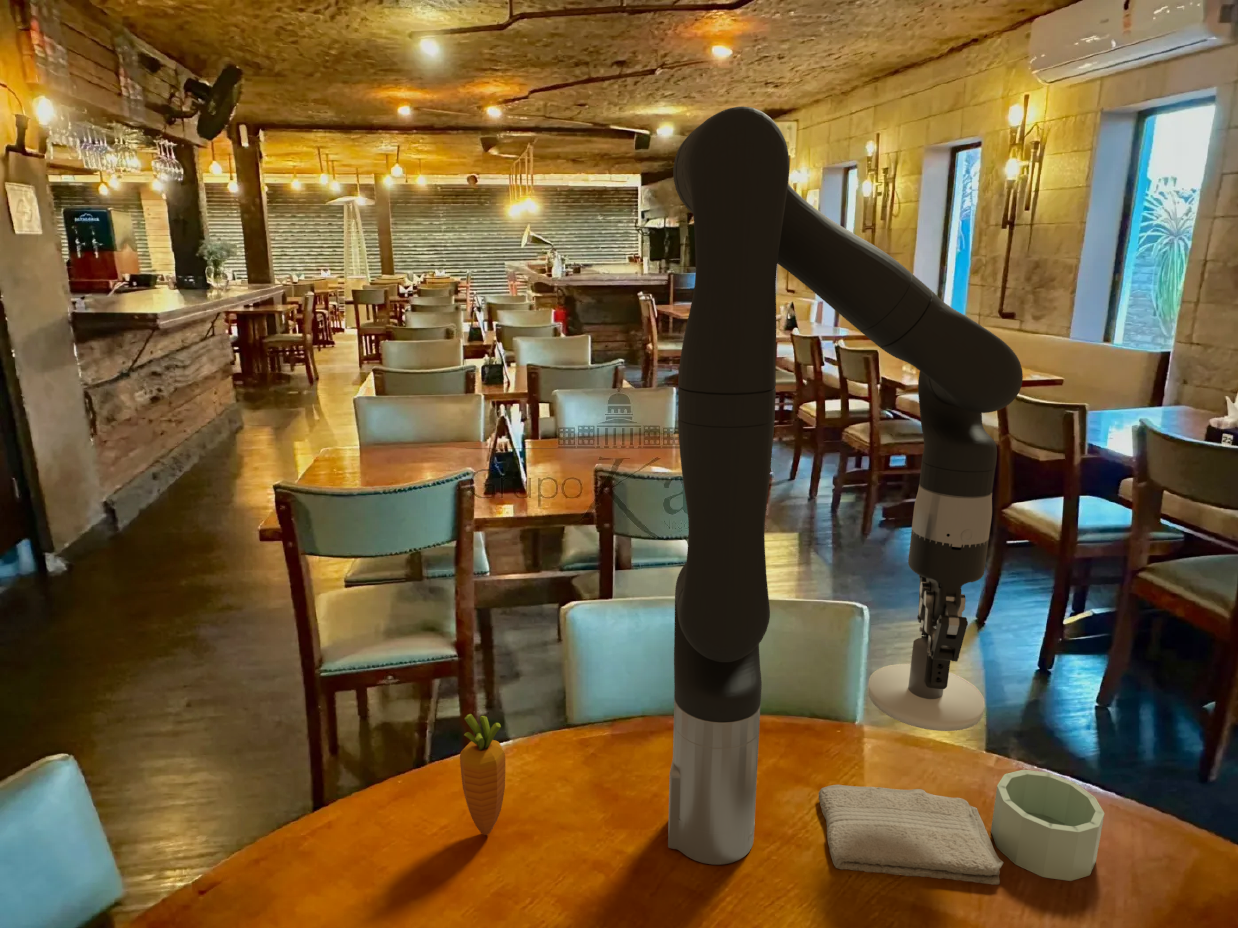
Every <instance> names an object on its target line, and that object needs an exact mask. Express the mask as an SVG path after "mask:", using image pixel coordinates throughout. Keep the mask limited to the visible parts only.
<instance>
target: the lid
mask: <svg viewBox="0 0 1238 928" xmlns="http://www.w3.org/2000/svg"><path fill="white" fill-rule="evenodd" d="M946 647H947V646H946ZM927 648H928V638H921V637H918V638H916V639H914V640H913V644H912V653H911V660H910V663H897V664H896V663H895V664H890V665H885V666H883V667H880V668H878V669H876V670H875V671H873V673H871V675H870V676H869V679H868V686H867V687H868V688H867V694H868V697H869V699H870V701H871V702H872V704H873V706H874V707H876V708H877V709H878V710H879V711H881V712H882V713H883V714H885V715H887V716H888V717H890V718H892V719H893V720H896V721H899V722H900V723H902V724H906V725H908V726H912V727H915V728H918V729H919V728H920V729H923V730H929V731H938V732H957V731H963V730H967V729H969V728H972V727H974V726H977V725H978V723H980V722H981V720H982V719H983V716H984V712H985V698H984V696H983V694H982V693H981V691H980V690H979V688H977V687H976V686H975V685H974V684H973V683H971V682H969V681H968V680H966V679H965V678H963V677H962V676H959V675H958V674H955V673H953V672H950V671H949V676H948V683H947V687H946V688H945V689H935V688H928V687H927V686H926V684H925V672H926V664H927V655H928V653H927Z"/></svg>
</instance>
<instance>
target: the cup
mask: <svg viewBox="0 0 1238 928" xmlns="http://www.w3.org/2000/svg"><path fill="white" fill-rule="evenodd" d="M995 792H996V793H995V797H994V798H995V799H994V800H995V801H994V804H993V807H994V808H993V814H992V819H991V820H992V821H991V826H990V827H991V829H990V833H991V835H992V839H993V841H994V844H995V847H996V848H997V849H998V851H1000V852H1001V853H1002V854H1003V855H1004V856H1006V857H1007V858H1008V859H1009V860H1010V861H1011V862H1012V863H1014V864H1015V865H1016V866H1018V867H1020V868H1022V869H1025V870H1027V871H1028V872H1031V873H1033V874H1035V875H1037V876H1039V877H1042V878H1046V879H1055V880H1061V881H1069V882H1072V881H1075V880H1079V879H1081V878H1085V877H1089V876H1091V873H1092V872H1093V869H1094V867H1095V864H1096V862H1097V857H1098V853H1099V852H1098V851H1099V846H1100V841H1101V835H1102V829H1103V824H1104V818H1105V812H1104V810H1103V808H1102V807H1101V805H1100V804H1099V802H1098V800H1097V798H1096V797H1095V796H1094V795H1092V794H1091V793H1090V792H1089V791H1087V790H1086V789H1084V788H1083V787H1082V786H1080V785H1079V784H1077V783H1076V782H1074V781H1072V780H1069V779H1066V778H1064V777H1061V776H1058V775H1056V774H1053V773H1051V772H1048V771H1037V770H1030V769H1020V770H1016V771H1012V772H1009V773H1008V772H1007V773H1005V774H1003V776H1002V777H1001V779H1000V781H999V782H998V784H997V785H996V791H995Z"/></svg>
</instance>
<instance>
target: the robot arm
mask: <svg viewBox="0 0 1238 928" xmlns="http://www.w3.org/2000/svg"><path fill="white" fill-rule="evenodd" d="M680 144H681V145H680V146H679V147H678V149H677V152H676V155H675V158H674V163H673V168H672V169H673V170H672V171H673V172H672V173H673V176H672V178H673V182H674V183H673V184H674V187H675V190H676V193H677V195H678V197H679V199H680V201H681V203H682V204H683V206H684V207H685V208H686V209H687V210H688V211H689V212H691V214H692V215H693V226H694V230H693V231H694V245H695V246H694V249H695V250H694V251H695V275H694V276H695V278H694V285H693V286H694V287H693V293H692V298H691V299H692V300H691V303H690V308H689V313H688V316H687V322H686V326H685V331H684V336H683V341H682V346H681V352H680V357H679V368H678V379H677V381H678V382H677V383H678V390H677V392H678V393H677V400H678V401H677V427H678V443H679V444H678V445H679V457H680V466H681V475H682V483H683V491H684V497H685V504H686V510H687V520H688V522H687V523H688V524H687V525H688V535H687V536H688V539H687V550H686V551H687V552H686V553H687V554H686V562H685V563H684V565H683V566H682V567H681V570H680V571H679V573H678V575H677V578H676V581H675V590H674V591H675V592H674V632H673V633H674V636H673V637H674V641H673V642H674V646H673V675H674V677H673V679H674V680H673V681H674V682H673V683H674V686H673V687H674V693H673V694H674V695H673V697H674V698H673V700H674V701H673V735H672V737H673V740H672V744H673V746H672V761H671V765H670V769H669V778H668V779H669V783H668V784H669V785H668V786H669V787H668V789H669V790H668V826H667V827H668V828H667V830H668V834H667V836H668V839H667V847H668V848H669V849H673V850H678V851H679V852H681V853H682V854H683V855H684V856H686V857H687V858H690V859H692V860H694V861H696V862H699V863H702V864H709V865H727V864H732V863H734V862H738V861H740V860H741V859H743V858H744V857H745V856H746V855H747V854H749V852H750V851H751V849H752V847H753V845H754V841H755V840H754V839H755V828H756V826H755V825H756V823H755V822H756V821H755V819H756V803H757V801H756V799H757V783H758V782H757V778H758V761H759V760H758V758H759V744H760V743H759V741H760V722H761V719H760V717H761V704H762V702H761V701H762V687H763V685H762V672H761V660H760V659H761V658H760V644H761V642H762V641H763V638H764V637H765V635H766V633H767V630H768V627H769V624H770V618H771V608H770V600H769V599H770V597H769V589H768V578H767V561H766V549H765V548H766V545H765V544H766V543H765V538H766V537H765V528H766V524H765V523H766V515H767V504H768V497H769V496H768V495H769V489H770V479H771V470H772V469H771V468H772V458H773V456H772V455H773V447H774V446H773V444H774V432H775V421H776V420H775V419H776V417H775V416H776V398H777V397H776V394H777V392H776V389H777V381H776V380H777V379H776V378H777V377H776V375H777V374H776V373H777V372H776V370H777V369H776V368H777V367H776V363H777V359H776V358H777V355H776V354H777V273H778V272H777V271H778V270H777V269H778V265H779V266H780V267H781V268H783V269H784V270H786V271H787V272H788V273H790V274H791V275H792V276H794V277H795V278H796V279H797V280H799V282H800V283H802V284H803V285H805V287H807V288H808V289H810V291H812V292H813V293H814V294H816V295H817V296H818V297H819V298H820V299H821V300H822V301H824V303H826V304H827V305H828V306H830V307H831V308H832V309H833V310H835V312H836V313H838V315H840V316H841V317H842V318H844V319H845V320H846V321H847V322H848V323H849V324H851V325H852V326H853V327H854V328H855V329H857V330H858V331H859V332H861V333H862V334H863V335H864V336H865V337H866V338H868V339H869V340H870V341H871V342H872V343H874V344H875V345H876V346H877V347H878V348H880V349H881V350H883V351H884V352H885V353H887V354H889V355H890V356H892V357H894V358H895V359H899V360H900V361H903V362H905V363H908V364H909V365H911V366H913V367H914V368H916V369H917V370H918V371H919V373H918V382H917V385H918V386H917V391H918V393H917V395H918V405H919V406H918V407H919V415H920V416H919V417H920V424H921V431H922V438H923V439H922V440H923V451H922V457H921V464H920V465H921V466H920V475H919V482H918V484H919V485H918V490H917V494H916V498H915V501H914V505H913V514H912V515H913V516H912V523H911V531H910V532H911V534H910V541H909V542H910V543H909V550H908V560H907V561H908V562H907V564H908V566H909V568H910V570H911V571H913V573H915V574H916V575H918V577H919V591H918V592H919V593H918V597H919V598H918V612H917V613H918V615H917V617H916V619H917V620H918V622H917V623H919V624H920V626H919V630H918V631H919V633H920V634H919V635H920V636H921V637H920V638H928V648H927V653H928V655H927V664H926V672H925V684H926V686H927V687H928V688H935V689H945V688H946V687H947V683H948V676H949V672H950V667H951V661H952V662H958V660H959V659H960V653H961V650H962V647H963V642H964V638H965V636H966V635H965V634H966V631H967V627H968V626H969V625H968V624H969V621H968V618H967V617H966V616H963V612H964V611H965V609H966V600H967V599H966V595H965V594H964V593H962V587H963V586H964V585H966V584H970V583H974V582H978V581H979V580H981V579H982V577H983V576H984V575H985V570H986V569H985V568H986V562H987V554H988V548H989V547H988V546H989V541H990V540H989V539H990V533H991V524H992V518H993V517H992V516H993V499H992V498H993V488H994V481H995V473H996V466H997V458H998V447H997V444H996V441H995V440H994V439H993V438H992V436H991V435H990V434H988V432H987V431H986V430H985V428H984V425H983V415H982V414H987V413H988V414H989V413H994V412H997V411H1000V410H1003V409H1004V408H1006V407H1007V406H1009V405H1010V404H1011V403H1012V402H1014V400H1015V399H1016V398H1017V397H1018V395H1019V393H1020V392H1021V389H1022V385H1023V380H1024V379H1023V376H1024V374H1023V373H1024V372H1023V368H1022V365H1021V362H1020V360H1019V358H1018V355H1017V354H1016V353H1015V351H1014V350H1013V349H1012V348H1011V347H1010V346H1009V345H1008V344H1007V343H1006V342H1005V341H1004V340H1002V339H1001V338H1000V337H998V336H997V335H996V334H995V333H993V332H991V331H990V330H989V329H987V328H985V327H984V326H982V325H981V324H979V323H978V322H976V321H974V320H973V319H971V318H970V317H968V316H966V315H965V314H963V313H962V312H959V311H958V310H956V309H954V308H953V307H952V306H950V305H948V304H947V303H945V301H943V300H942V299H941V298H940V297H939V296H938V295H937V294H936V293H935V292H934V291H933V290H932V289H930V288H929V287H928V286H927V285H926V284H925V283H924V282H922V281H921V280H920V279H919V278H918V276H917V277H916V276H915V274H913V273H912V272H911V271H910V270H908V269H907V268H906V267H905V266H903V264H901V263H900V262H899V261H897V260H896V259H895V258H894V257H892V256H891V255H890V254H888V253H886V252H885V251H884V250H882V249H880V248H879V247H877V246H876V245H874V244H873V243H871V242H870V241H868V240H866V239H864V238H862V237H860V236H859V235H857V234H855V233H853V232H852V231H850V230H849V229H848V228H847V229H846V228H845V227H844V226H842V225H840V224H838V223H837V222H835V220H832V219H831V218H829V217H828V216H827V215H825V214H823V212H821V211H820V210H818V209H817V208H815V207H814V206H813V205H812V204H810V203H809V202H808V200H807V201H806V199H804V197H802V196H801V195H800V194H799V193H798V192H797V191H796V190H795V189H794V188H792V186H791V185H790V184H789V177H790V168H791V167H790V162H791V161H790V154H789V150H788V149H789V148H788V143H787V141H786V139H785V136H784V134H783V132H782V130H781V129H780V127H779V126H778V125H777V123H776V122H775V121H774V120H773V119H772V118H771V117H770V116H769V115H768V114H766V113H765V112H763V111H762V110H760V109H757V108H754V107H750V106H744V105H743V106H735V107H729V108H725V109H724V110H721V111H719V112H717V113H714V114H713V115H712V116H710V117H708V118H707V119H706V120H705V121H703V122H702V123H701V124H700V125H698V127H696V128H695V129H694V130H693V131H691V133H689V134H688V136H686V138H685V139H684V140H683V141H682V143H680ZM946 646H947V647H946Z"/></svg>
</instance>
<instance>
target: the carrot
mask: <svg viewBox="0 0 1238 928" xmlns="http://www.w3.org/2000/svg"><path fill="white" fill-rule="evenodd" d="M479 720H480V723H481V727H482V729H481V727H480V725H479V723H478V721H477V720H476V718H475V717H474V715H473V714H472V713H469V714H467V715H466V716H465V717H464V721H465V722H466V724H467V725H468V726H469V728H470V729H471V730H472V732H473V734H474V735H473V734H472V733H471V732H470V731H467V732H465V733H464V734H463V736H465V738H467V739H469V740H470V742H469V743H468V744H467V745H465V747H464V748H463V749H462V750H461V751H460V753H459V766H460V775H461V783H462V790H463V794H464V798H465V801H466V804H467V805H466V806H467V809H468V812H469V814H470V817H471V819H472V821H473V823H474V825H475V827H476V829H478V831H479V832H480V834H481V835H484V836H488V835H489V834H490V833H491V832H492V830H493V828H494V826H495V825H496V822H497V821H498V819H499V816H500V813H501V810H502V806H503V801H504V795H505V790H506V789H505V788H506V754H505V750H504V749H503V747H502V745H501V744H500V742H499V741H497V740H496V739H495V740H494V738H495V736H496V735H497V732H499V730H500V729H501V727H502V726H501V724H500V723H499V722H495V723H493V724H492V726H491V727H490V722H489V720H488V717H487V716H485V715H481V716H479Z"/></svg>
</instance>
